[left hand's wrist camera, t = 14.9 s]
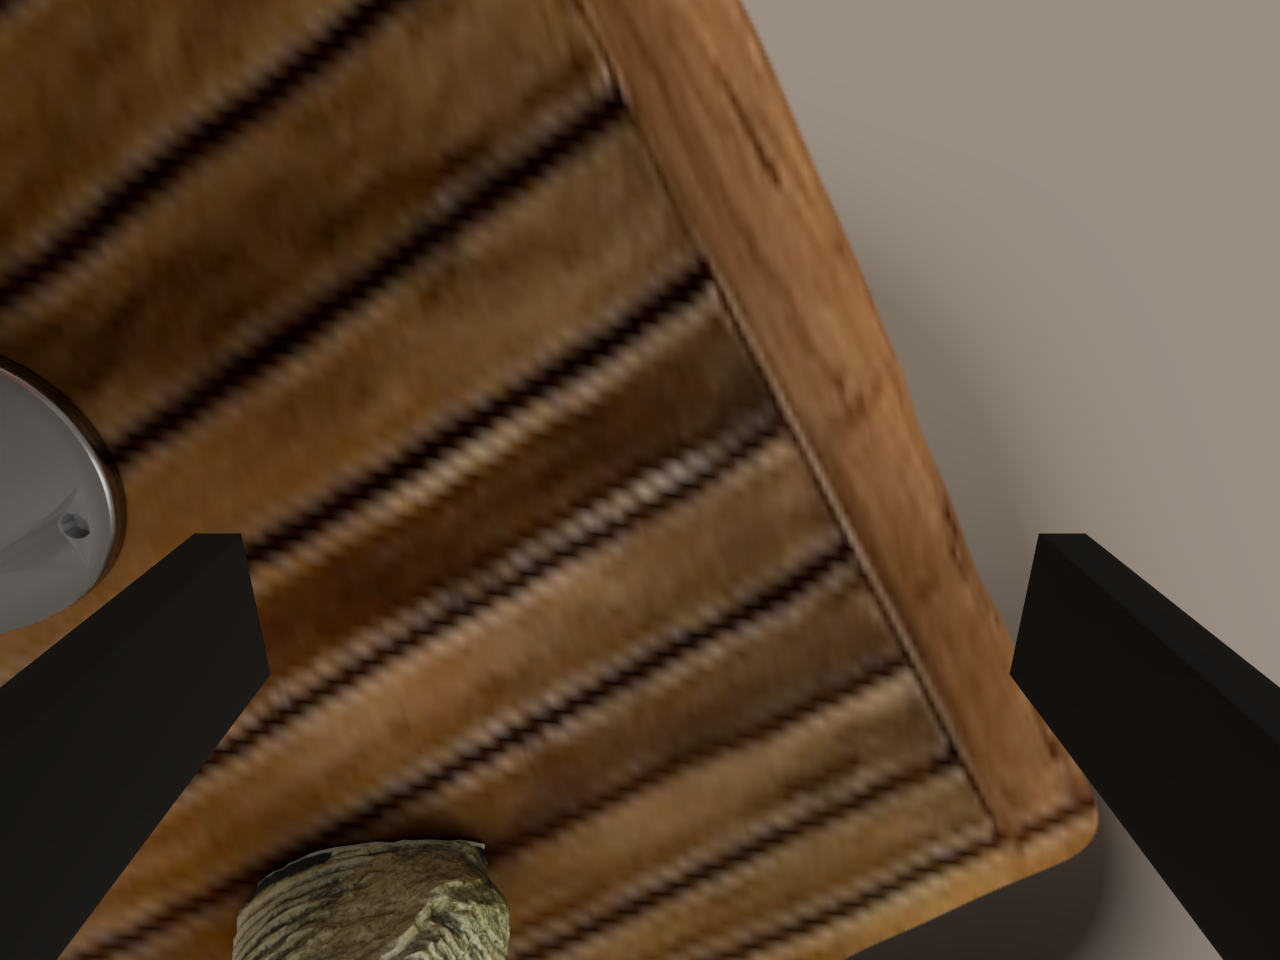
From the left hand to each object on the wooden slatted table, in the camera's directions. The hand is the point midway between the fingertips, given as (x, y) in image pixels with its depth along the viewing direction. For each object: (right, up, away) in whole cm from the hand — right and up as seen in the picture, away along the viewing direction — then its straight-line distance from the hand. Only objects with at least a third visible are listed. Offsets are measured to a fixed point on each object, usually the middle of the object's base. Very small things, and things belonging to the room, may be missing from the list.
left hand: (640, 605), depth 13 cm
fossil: (-17, -24, +38) cm, 48 cm away
